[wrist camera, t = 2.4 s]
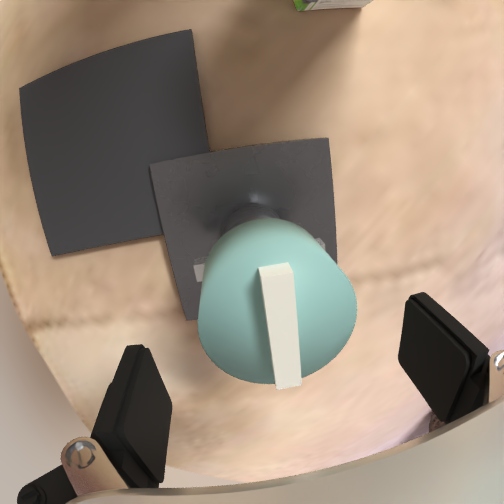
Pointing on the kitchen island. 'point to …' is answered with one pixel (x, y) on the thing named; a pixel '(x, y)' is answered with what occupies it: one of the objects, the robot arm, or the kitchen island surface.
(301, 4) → the syrup box
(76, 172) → the pad
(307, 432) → the kitchen island surface
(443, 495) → the robot arm
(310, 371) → the cap
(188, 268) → the dark grey square-based fixture
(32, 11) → the kitchen island surface
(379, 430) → the kitchen island surface
